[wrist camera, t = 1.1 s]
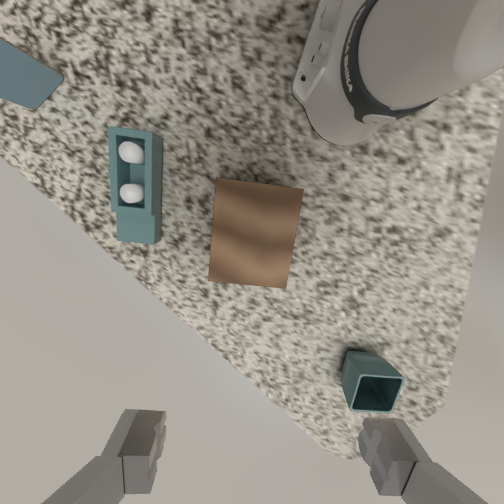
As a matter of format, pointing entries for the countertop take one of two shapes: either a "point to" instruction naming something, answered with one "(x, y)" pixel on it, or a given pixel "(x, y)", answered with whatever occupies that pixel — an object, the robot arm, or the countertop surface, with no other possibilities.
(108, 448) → the robot arm
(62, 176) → the countertop surface
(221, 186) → the nook
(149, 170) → the tray
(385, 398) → the flower pot
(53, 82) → the smartphone
